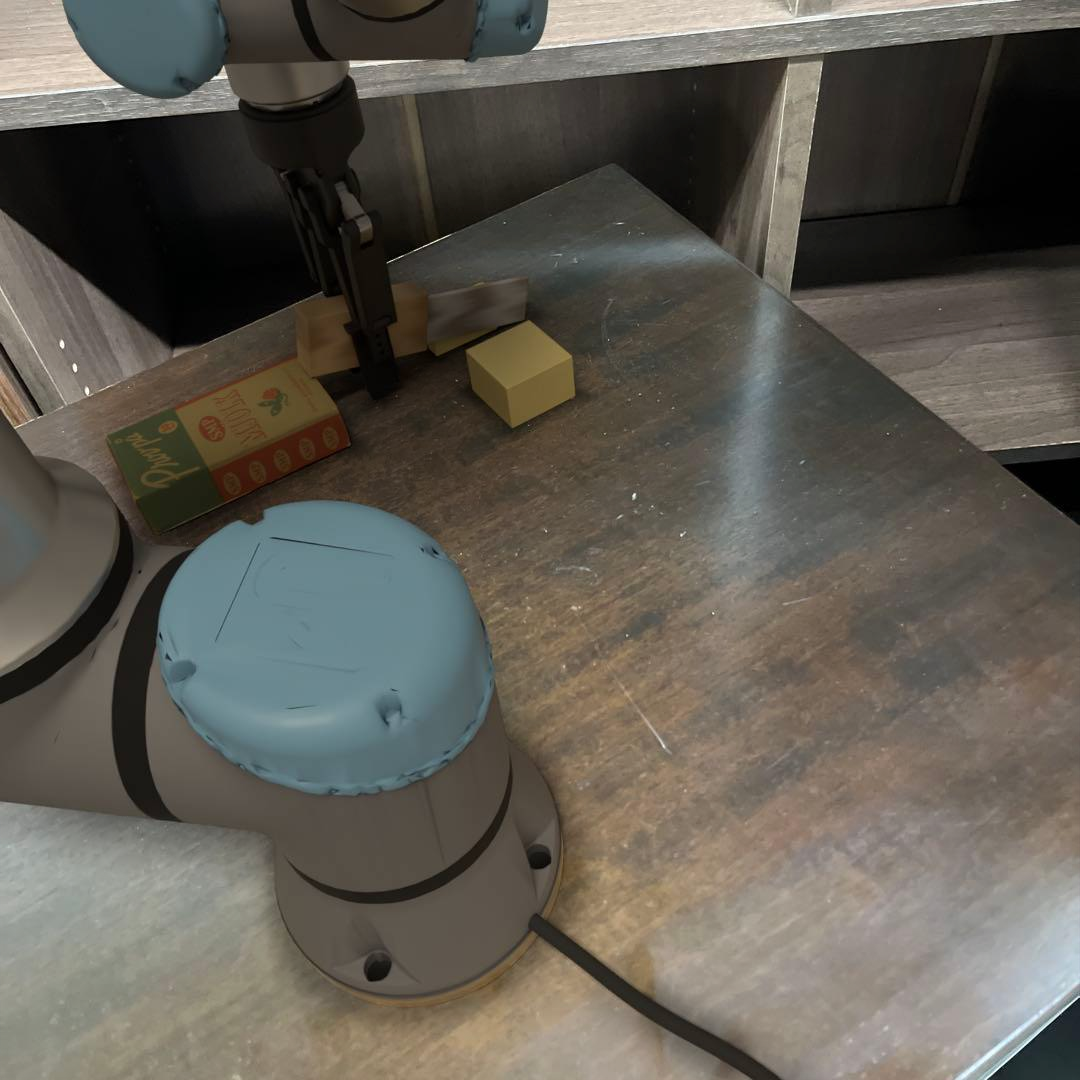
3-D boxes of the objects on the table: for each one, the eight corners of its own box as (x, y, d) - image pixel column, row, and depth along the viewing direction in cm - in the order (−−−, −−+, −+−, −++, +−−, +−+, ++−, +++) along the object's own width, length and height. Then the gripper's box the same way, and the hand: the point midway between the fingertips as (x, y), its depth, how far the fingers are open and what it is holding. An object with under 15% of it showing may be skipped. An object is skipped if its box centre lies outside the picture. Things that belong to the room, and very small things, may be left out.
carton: (353, 448, 76) (340, 406, 73) (152, 540, 72) (129, 499, 68) (311, 391, 81) (297, 349, 78) (121, 473, 76) (98, 433, 73)
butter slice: (497, 328, 85) (491, 289, 82) (436, 356, 83) (428, 317, 80) (488, 320, 85) (482, 280, 82) (428, 348, 84) (419, 308, 81)
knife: (310, 378, 75) (307, 319, 72) (297, 362, 77) (293, 304, 73) (530, 325, 84) (536, 271, 81) (515, 312, 86) (520, 258, 83)
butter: (575, 396, 78) (572, 355, 75) (512, 429, 76) (506, 389, 73) (533, 359, 81) (529, 319, 78) (471, 389, 79) (464, 350, 76)
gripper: (404, 106, 59) (463, 405, 77) (297, 31, 68) (372, 313, 86) (290, 149, 57) (378, 448, 74) (195, 65, 66) (293, 349, 83)
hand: (374, 375), depth 80 cm, fingers closed on knife, 2 cm apart
